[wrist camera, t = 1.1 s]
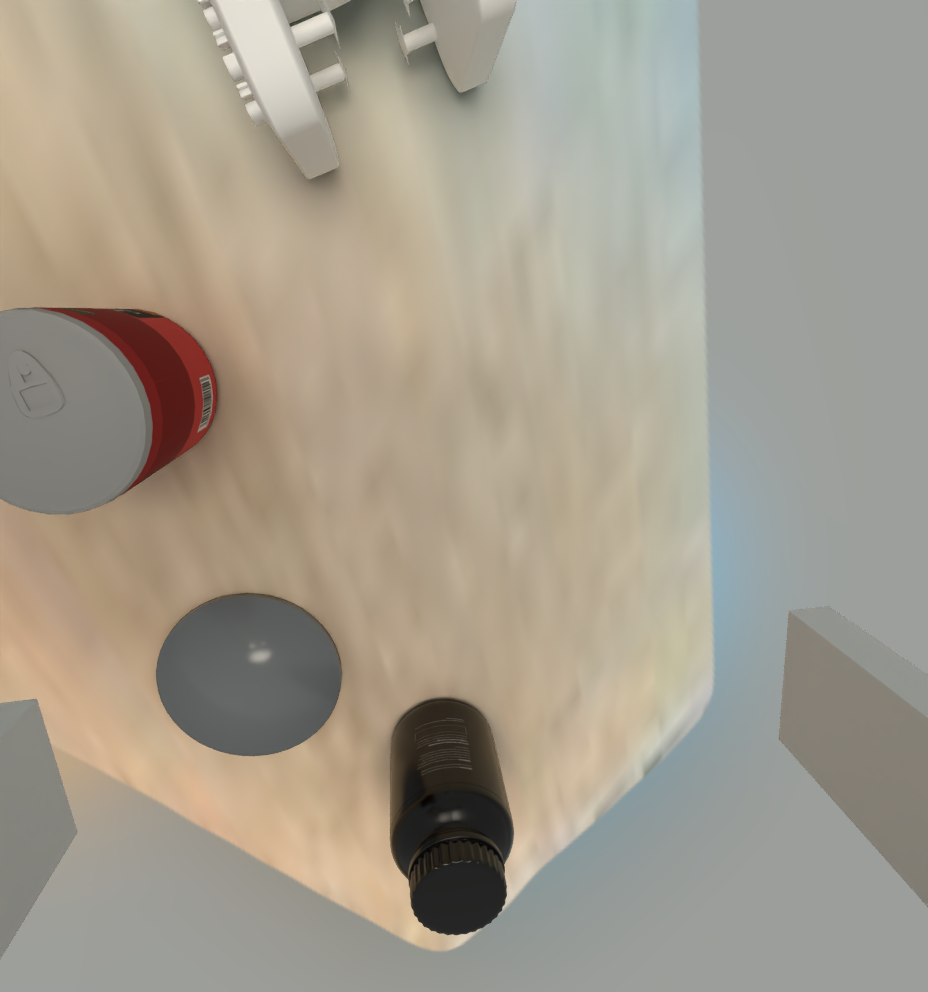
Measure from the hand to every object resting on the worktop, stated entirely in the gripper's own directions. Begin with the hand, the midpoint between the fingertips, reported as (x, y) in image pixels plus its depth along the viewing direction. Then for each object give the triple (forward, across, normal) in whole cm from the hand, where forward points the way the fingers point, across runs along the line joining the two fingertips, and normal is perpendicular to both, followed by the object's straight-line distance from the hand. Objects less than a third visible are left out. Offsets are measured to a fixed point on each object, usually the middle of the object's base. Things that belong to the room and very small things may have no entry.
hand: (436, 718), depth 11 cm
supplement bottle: (+27, 0, -21) cm, 34 cm away
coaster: (+27, -11, -14) cm, 32 cm away
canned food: (+27, -14, +4) cm, 31 cm away
